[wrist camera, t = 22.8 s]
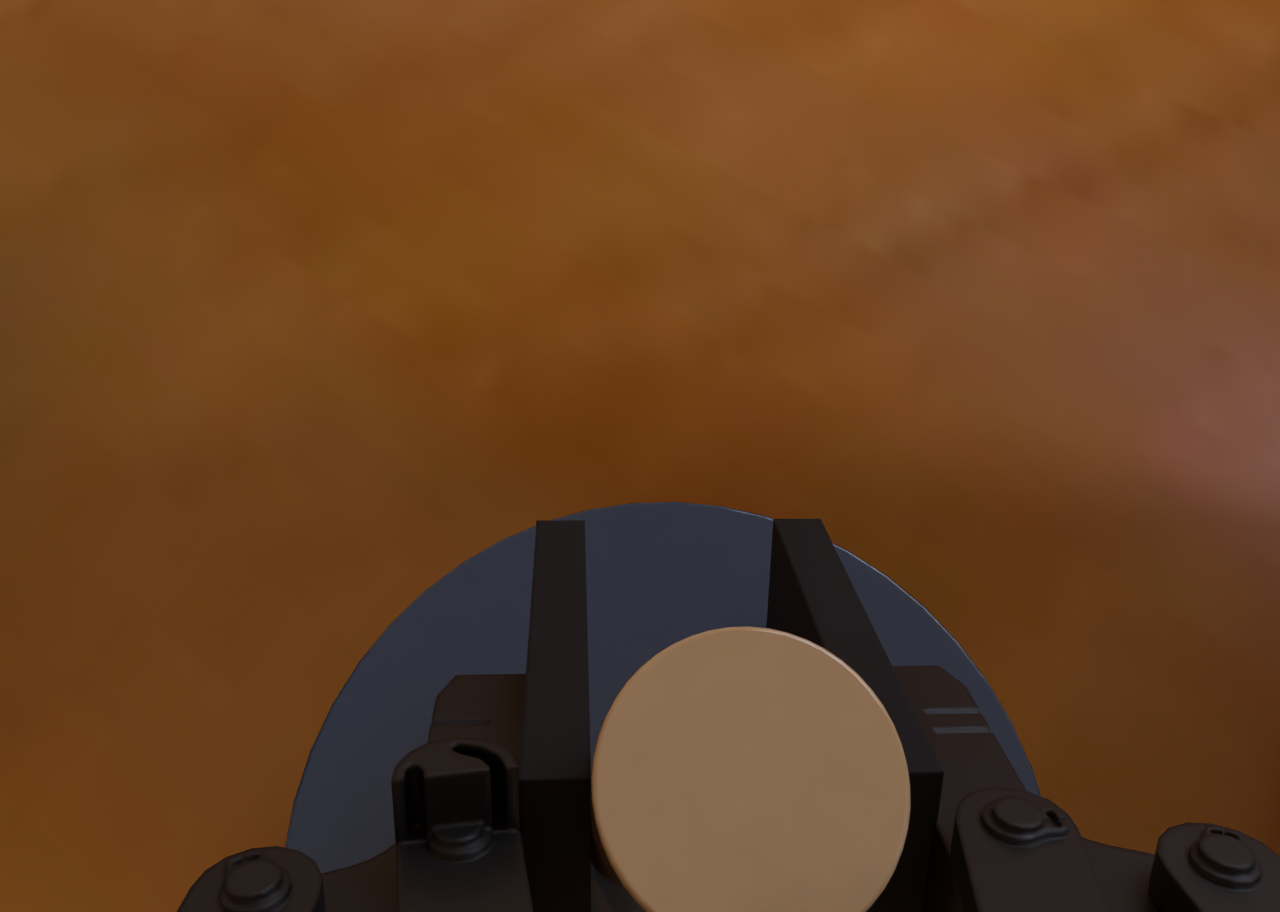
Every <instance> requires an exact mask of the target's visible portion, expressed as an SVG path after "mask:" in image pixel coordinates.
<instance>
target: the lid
mask: <svg viewBox="0 0 1280 912" xmlns="http://www.w3.org/2000/svg"><path fill="white" fill-rule="evenodd" d="M559 520H585V547H586V588H587V630H588V672H589V713H590V755H591V785H590V798H589V805H590V826H591V912H867V911H868V910H869V909H870V908H871V907H872V906H873V904H874V903H875V902H876V900H877V899H878V898H879V896H880V895H881V894H882V893H883V891H884V890H885V888H886V886H887V885H888V883H889V881H890V879H891V878H892V876H893V874H894V872H895V870H896V868H897V865H898V863H899V860H900V858H901V855H902V853H903V850H904V846H905V842H906V838H907V834H908V829H909V821H910V812H911V786H910V778H909V771H908V765H907V761H906V757H905V753H904V750H903V746H902V743H901V740H900V738H899V735H898V733H897V730H896V728H895V726H894V723H893V722H892V720H891V718H890V716H889V714H888V713H887V711H886V709H885V707H884V705H883V704H882V703H881V701H880V700H879V698H878V697H877V696H876V694H875V693H874V691H873V690H872V689H871V688H870V686H869V685H868V684H867V683H866V682H865V681H864V680H863V679H862V678H861V677H860V676H859V674H858V673H856V672H855V671H854V670H853V669H852V668H851V667H850V666H848V665H847V664H846V663H845V662H844V661H843V660H841V659H840V658H838V657H837V656H835V655H834V654H832V653H831V652H829V651H828V650H826V649H825V648H823V647H821V646H819V645H817V644H815V643H813V642H811V641H809V640H807V639H805V638H802V637H799V636H796V635H793V634H791V633H788V632H784V631H779V630H775V629H770V628H766V624H767V609H768V593H769V578H770V562H771V547H772V531H773V519H772V518H770V517H767V516H763V515H759V514H754V513H750V512H745V511H740V510H736V509H731V508H727V507H722V506H713V505H703V504H692V503H682V502H659V503H631V504H624V505H617V506H611V507H604V508H597V509H591V510H586V511H582V512H579V513H575V514H572V515H568V516H564V517H561V518H557V519H554V520H550V521H559ZM535 537H536V526H534V527H532V528H529V529H527V530H524V531H522V532H520V533H517V534H515V535H512V536H510V537H508V538H505V539H503V540H501V541H499V542H498V543H496V544H494V545H492V546H491V547H489V548H487V549H485V550H484V551H482V552H480V553H478V554H476V555H475V556H473V557H471V558H469V559H468V560H466V561H464V562H463V563H461V564H460V565H459V566H457V567H456V568H454V569H453V570H452V571H450V572H449V573H448V574H446V575H445V576H444V577H442V578H441V579H440V580H438V581H437V582H436V583H434V584H433V585H432V586H430V587H429V588H428V589H426V590H425V591H424V592H423V593H422V594H421V595H420V596H419V597H418V598H417V599H416V600H415V601H414V602H412V603H411V604H410V605H409V606H408V607H407V608H406V609H405V610H404V611H403V612H402V613H401V614H400V615H399V616H398V617H397V618H396V619H395V620H394V621H393V622H392V623H391V624H390V625H389V626H388V627H387V628H386V630H385V631H384V632H383V633H382V635H381V636H380V637H379V638H378V639H377V641H376V642H375V643H374V644H373V646H372V647H371V648H370V649H369V650H368V652H367V653H366V654H365V655H364V657H363V658H362V659H361V660H360V661H359V663H358V665H357V666H356V668H355V669H354V671H353V672H352V674H351V676H350V677H349V679H348V680H347V682H346V684H345V685H344V687H343V688H342V690H341V691H340V693H339V695H338V696H337V698H336V699H335V701H334V703H333V704H332V706H331V708H330V711H329V713H328V715H327V717H326V719H325V721H324V723H323V725H322V727H321V730H320V732H319V734H318V736H317V738H316V740H315V742H314V744H313V746H312V749H311V751H310V754H309V757H308V760H307V763H306V766H305V769H304V772H303V775H302V778H301V781H300V784H299V787H298V790H297V793H296V796H295V799H294V803H293V808H292V813H291V818H290V823H289V828H288V833H287V838H286V843H285V848H289V849H294V850H299V851H301V852H302V853H304V854H305V855H307V856H309V857H310V858H312V859H313V860H315V862H316V864H317V866H318V868H319V870H320V872H321V873H325V872H329V871H333V870H337V869H341V868H345V867H349V866H352V865H355V864H358V863H361V862H364V861H367V860H369V859H371V858H373V857H375V856H377V855H379V854H380V853H382V852H384V851H386V850H387V849H388V848H389V847H391V846H392V845H393V844H394V843H396V842H395V828H394V814H393V800H392V787H391V779H392V776H393V772H394V769H395V766H396V765H397V764H398V763H399V762H400V761H401V759H402V758H403V757H404V756H405V755H406V754H407V753H408V752H410V751H412V750H414V749H416V748H418V747H420V746H422V745H424V744H426V743H428V735H429V730H430V725H431V720H432V715H433V710H434V705H435V700H436V696H437V695H438V694H439V693H440V692H441V691H442V690H443V689H444V687H445V686H446V685H447V684H448V683H449V682H450V681H451V680H452V679H453V678H454V677H455V675H483V674H526V664H527V650H528V636H529V622H530V608H531V594H532V580H533V566H534V552H535ZM832 544H833V546H834V548H835V550H836V552H837V554H838V556H839V558H840V560H841V562H842V564H843V566H844V568H845V570H846V572H847V574H848V576H849V578H850V580H851V582H852V585H853V587H854V589H855V591H856V593H857V595H858V597H859V599H860V601H861V603H862V605H863V607H864V609H865V611H866V613H867V615H868V617H869V619H870V621H871V623H872V625H873V627H874V630H875V632H876V634H877V636H878V638H879V640H880V642H881V644H882V646H883V648H884V650H885V652H886V654H887V656H888V658H889V660H890V662H891V664H892V666H933V665H939V666H940V667H942V668H943V669H944V670H945V671H947V672H948V673H949V674H951V675H952V676H953V677H955V678H956V679H957V680H959V681H960V682H961V683H963V684H964V685H965V686H966V687H967V689H968V691H969V693H970V694H971V696H972V698H973V699H974V701H975V703H976V705H977V706H978V708H979V714H981V713H982V715H983V717H984V718H985V720H986V722H987V723H988V725H989V727H990V733H993V734H994V735H995V737H996V739H997V741H998V742H999V744H1000V746H1001V747H1002V749H1003V751H1004V753H1005V754H1006V756H1007V758H1008V759H1009V761H1010V763H1011V765H1012V766H1013V768H1014V770H1015V771H1016V773H1017V775H1018V777H1019V778H1020V780H1021V782H1022V783H1023V785H1024V787H1025V789H1026V790H1027V791H1029V792H1031V793H1033V794H1036V795H1038V796H1040V793H1039V789H1038V786H1037V783H1036V780H1035V776H1034V773H1033V770H1032V767H1031V765H1030V763H1029V761H1028V758H1027V756H1026V754H1025V752H1024V749H1023V747H1022V745H1021V743H1020V740H1019V738H1018V736H1017V733H1016V731H1015V729H1014V727H1013V724H1012V722H1011V721H1010V719H1009V717H1008V715H1007V714H1006V712H1005V710H1004V709H1003V707H1002V705H1001V704H1000V702H999V700H998V698H997V697H996V695H995V693H994V692H993V690H992V688H991V687H990V685H989V683H988V681H987V680H986V678H985V677H984V676H983V674H982V673H981V672H980V670H979V669H978V668H977V667H976V665H975V664H974V663H973V661H972V660H971V659H970V657H969V656H968V655H967V653H966V652H965V651H964V649H963V648H962V647H961V645H960V644H959V643H958V641H957V640H956V639H955V638H954V637H953V636H952V635H951V634H950V633H949V632H948V631H947V630H946V629H945V628H944V627H943V626H942V625H941V623H940V622H939V621H938V620H937V619H936V618H935V617H934V616H933V615H932V614H931V613H930V612H929V611H928V610H927V609H926V608H925V607H924V606H923V605H922V604H921V603H920V602H918V601H917V600H916V599H915V598H914V597H912V596H911V595H910V594H909V593H907V592H906V591H905V590H904V589H903V588H901V587H900V586H899V585H898V584H897V583H895V582H894V581H893V580H892V579H891V578H889V577H888V576H887V575H885V574H884V573H882V572H881V571H879V570H877V569H876V568H874V567H873V566H871V565H870V564H868V563H867V562H865V561H864V560H862V559H860V558H859V557H857V556H856V555H854V554H853V553H851V552H850V551H848V550H846V549H844V548H842V547H840V546H838V545H836V544H834V543H832Z"/></svg>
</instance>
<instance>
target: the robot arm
mask: <svg viewBox="0 0 1280 912" xmlns="http://www.w3.org/2000/svg"><path fill="white" fill-rule="evenodd" d="M766 628H770V629H775V630H779V631H784V632H788V633H791V634H793V635H796V636H799V637H802V638H805V639H807V640H809V641H811V642H813V643H815V644H817V645H819V646H821V647H823V648H825V649H826V650H828V651H829V652H831V653H832V654H834V655H835V656H837V657H838V658H840V659H841V660H843V661H844V662H845V663H846V664H847V665H848V666H850V667H851V668H852V669H853V670H854V671H855V672H856V673H858V674H859V676H860V677H861V678H862V679H863V680H864V681H865V682H866V683H867V684H868V685H869V686H870V688H871V689H872V690H873V691H874V693H875V694H876V696H877V697H878V698H879V700H880V701H881V703H882V704H883V705H884V707H885V709H886V711H887V713H888V714H889V716H890V718H891V720H892V722H893V723H894V726H895V728H896V730H897V733H898V735H899V738H900V740H901V743H902V746H903V750H904V753H905V757H906V761H907V765H908V771H909V778H910V786H911V812H910V821H909V829H908V834H907V838H906V842H905V846H904V850H903V853H902V855H901V858H900V860H899V863H898V865H897V868H896V870H895V872H894V874H893V876H892V878H891V879H890V881H889V883H888V885H887V886H886V888H885V890H884V891H883V893H882V894H881V895H880V896H879V898H878V899H877V900H876V902H875V903H874V904H873V906H872V907H871V908H870V909H869V910H868V911H867V912H1280V857H1279V856H1278V855H1277V854H1275V853H1274V852H1273V851H1272V850H1270V849H1269V848H1268V847H1266V846H1265V845H1264V844H1263V843H1261V842H1259V841H1257V840H1255V839H1253V838H1251V837H1249V836H1247V835H1245V834H1243V833H1241V832H1239V831H1236V830H1233V829H1229V828H1225V827H1222V826H1218V825H1214V824H1206V823H1184V824H1181V825H1177V826H1173V827H1169V828H1168V829H1167V830H1166V831H1165V832H1164V833H1163V834H1162V835H1161V836H1160V837H1159V838H1158V843H1157V847H1156V852H1155V854H1150V853H1145V852H1140V851H1135V850H1130V849H1125V848H1120V847H1115V846H1110V845H1106V844H1102V843H1098V842H1094V841H1091V840H1088V839H1085V838H1083V837H1081V835H1080V833H1079V830H1078V828H1077V827H1076V825H1075V824H1074V822H1073V821H1072V819H1071V818H1070V817H1069V815H1068V814H1067V813H1066V812H1065V811H1063V810H1062V809H1061V808H1059V807H1058V806H1057V805H1055V804H1054V803H1053V802H1051V801H1050V800H1048V799H1045V798H1043V797H1041V796H1038V795H1036V794H1033V793H1031V792H1029V791H1027V790H1026V789H1025V787H1024V785H1023V783H1022V782H1021V780H1020V778H1019V777H1018V775H1017V773H1016V771H1015V770H1014V768H1013V766H1012V765H1011V763H1010V761H1009V759H1008V758H1007V756H1006V754H1005V753H1004V751H1003V749H1002V747H1001V746H1000V744H999V742H998V741H997V739H996V737H995V735H994V734H993V733H990V727H989V725H988V723H987V722H986V720H985V718H984V717H983V715H982V713H981V714H979V708H978V706H977V705H976V703H975V701H974V699H973V698H972V696H971V694H970V693H969V691H968V689H967V687H966V686H965V685H964V684H963V683H961V682H960V681H959V680H957V679H956V678H955V677H953V676H952V675H951V674H949V673H948V672H947V671H945V670H944V669H943V668H942V667H940V666H939V665H933V666H892V664H891V662H890V660H889V658H888V656H887V654H886V652H885V650H884V648H883V646H882V644H881V642H880V640H879V638H878V636H877V634H876V632H875V630H874V627H873V625H872V623H871V621H870V619H869V617H868V615H867V613H866V611H865V609H864V607H863V605H862V603H861V601H860V599H859V597H858V595H857V593H856V591H855V589H854V587H853V585H852V582H851V580H850V578H849V576H848V574H847V572H846V570H845V568H844V566H843V564H842V562H841V560H840V558H839V556H838V554H837V552H836V550H835V548H834V546H833V544H832V542H831V540H830V537H829V535H828V533H827V531H826V529H825V527H824V525H823V523H822V521H821V519H773V531H772V547H771V562H770V578H769V593H768V609H767V624H766ZM590 785H591V755H590V713H589V672H588V630H587V588H586V547H585V520H559V521H537V523H536V537H535V552H534V566H533V580H532V594H531V608H530V622H529V636H528V650H527V664H526V674H483V675H455V677H454V678H453V679H452V680H451V681H450V682H449V683H448V684H447V685H446V686H445V687H444V689H443V690H442V691H441V692H440V693H439V694H438V695H437V696H436V700H435V705H434V710H433V715H432V720H431V725H430V730H429V735H428V743H426V744H424V745H422V746H420V747H418V748H416V749H414V750H412V751H410V752H408V753H407V754H406V755H405V756H404V757H403V758H402V759H401V761H400V762H399V763H398V764H397V765H396V766H395V769H394V772H393V776H392V779H391V787H392V800H393V814H394V828H395V842H396V843H394V844H393V845H392V846H391V847H389V848H388V849H387V850H386V851H384V852H382V853H380V854H379V855H377V856H375V857H373V858H371V859H369V860H367V861H364V862H361V863H358V864H355V865H352V866H349V867H345V868H341V869H337V870H333V871H329V872H325V873H321V872H320V870H319V868H318V866H317V864H316V862H315V860H313V859H312V858H310V857H309V856H307V855H305V854H304V853H302V852H301V851H299V850H294V849H289V848H283V847H278V846H274V847H263V848H253V849H249V850H246V851H243V852H240V853H237V854H234V855H231V856H228V857H226V858H224V859H223V860H221V861H220V862H218V863H216V864H215V865H213V866H212V867H210V868H209V869H207V870H205V871H204V873H203V874H202V875H201V876H200V877H199V878H198V880H197V881H196V882H195V883H194V884H193V885H192V887H191V888H190V890H189V891H188V893H187V895H186V897H185V898H184V900H183V902H182V904H181V906H180V907H179V909H178V911H177V912H591V826H590V805H589V798H590Z"/></svg>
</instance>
